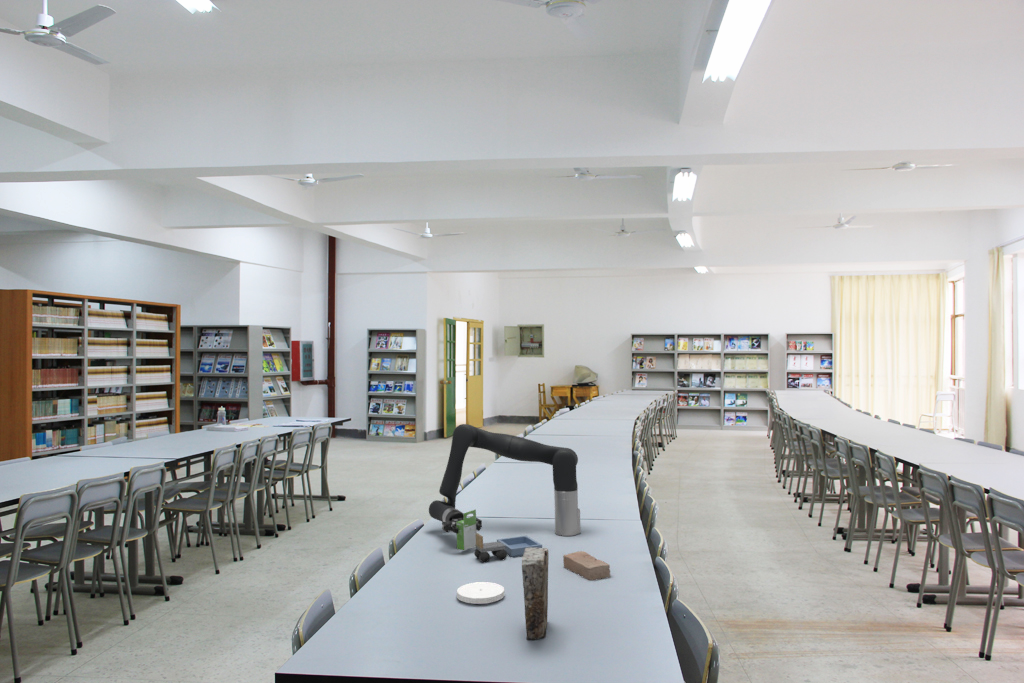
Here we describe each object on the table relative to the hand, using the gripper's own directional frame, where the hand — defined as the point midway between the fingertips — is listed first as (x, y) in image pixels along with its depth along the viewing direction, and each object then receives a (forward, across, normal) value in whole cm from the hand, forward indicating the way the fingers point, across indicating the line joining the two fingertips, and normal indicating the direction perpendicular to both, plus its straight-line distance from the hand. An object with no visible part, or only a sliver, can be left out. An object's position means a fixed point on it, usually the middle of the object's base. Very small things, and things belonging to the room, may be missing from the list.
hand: (468, 529), depth 249 cm
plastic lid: (+44, -11, +9) cm, 46 cm away
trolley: (+10, +5, +9) cm, 14 cm away
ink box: (-2, 0, +7) cm, 8 cm away
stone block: (+73, -6, +8) cm, 74 cm away
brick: (+37, +28, +9) cm, 47 cm away
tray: (+5, +18, +9) cm, 20 cm away
